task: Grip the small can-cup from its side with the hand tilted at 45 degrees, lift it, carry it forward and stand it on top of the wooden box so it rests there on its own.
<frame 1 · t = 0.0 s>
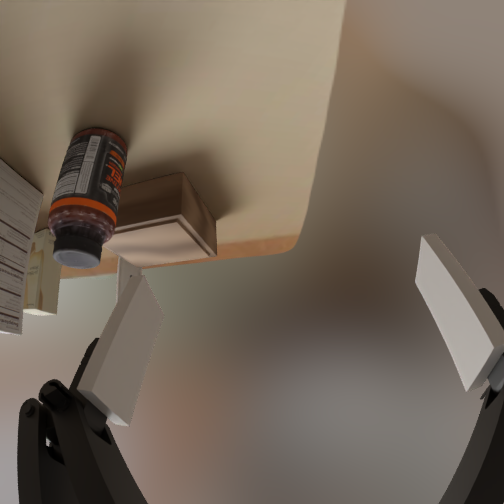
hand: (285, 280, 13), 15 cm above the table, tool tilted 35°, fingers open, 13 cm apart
skincare box: (46, 235, 39), on the table
supplement box: (1, 184, 25), on the table
wooden box: (156, 209, 36), on the table
supplement bottle: (99, 145, 24), on the table
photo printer: (130, 255, 50), on the table
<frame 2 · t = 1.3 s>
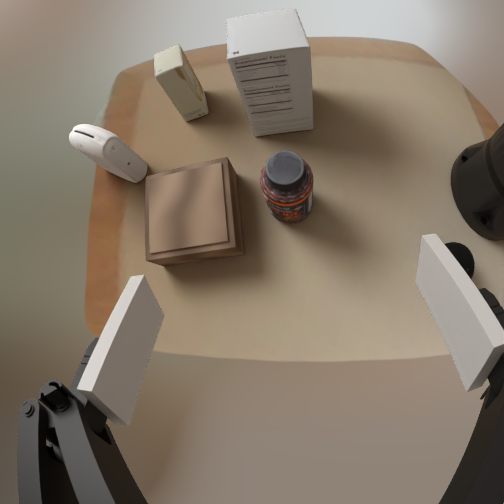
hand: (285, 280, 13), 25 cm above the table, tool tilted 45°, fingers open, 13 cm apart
skincare box: (195, 106, 47), on the table
supplement box: (280, 110, 43), on the table
wooden box: (199, 218, 42), on the table
billiard ball: (443, 269, 35), on the table
supplement bottle: (290, 204, 40), on the table
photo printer: (126, 167, 47), on the table
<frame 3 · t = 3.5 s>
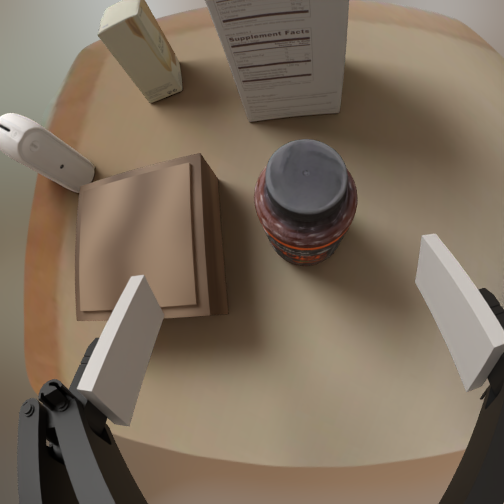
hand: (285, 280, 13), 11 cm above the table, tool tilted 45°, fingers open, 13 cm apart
skincare box: (165, 81, 31), on the table
supplement box: (288, 85, 28), on the table
wooden box: (159, 251, 26), on the table
supplement bottle: (305, 232, 25), on the table
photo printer: (71, 170, 31), on the table
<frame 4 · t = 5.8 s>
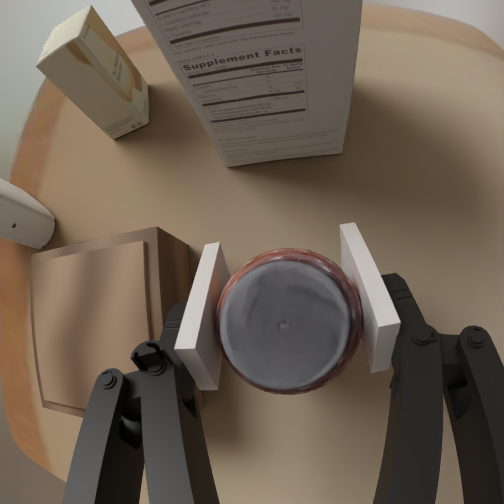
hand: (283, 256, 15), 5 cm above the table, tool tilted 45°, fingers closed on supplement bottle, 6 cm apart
skincare box: (131, 111, 26), on the table
supplement box: (277, 115, 23), on the table
wooden box: (124, 330, 21), on the table
supplement bottle: (294, 317, 20), on the table, touching gripper
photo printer: (33, 218, 26), on the table
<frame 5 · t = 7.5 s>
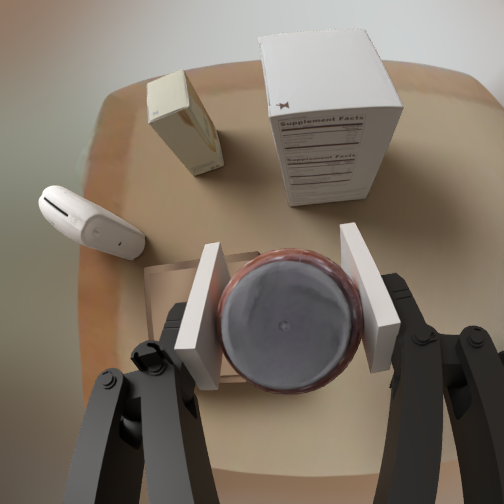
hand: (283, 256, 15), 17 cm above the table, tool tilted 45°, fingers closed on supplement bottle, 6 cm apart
skincare box: (205, 152, 37), on the table
supplement box: (322, 167, 34), on the table
wooden box: (217, 320, 32), on the table
supplement bottle: (295, 317, 20), point 12 cm above the table, touching gripper
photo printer: (118, 234, 37), on the table
when the fingers open (12 cm above the table, at t = 9.4 s): supplement bottle drops 1 cm, resting on wooden box.
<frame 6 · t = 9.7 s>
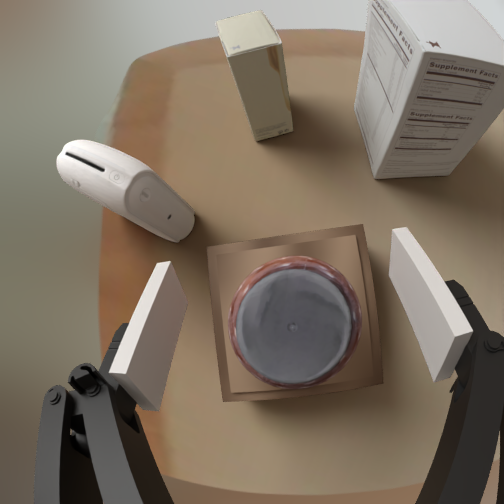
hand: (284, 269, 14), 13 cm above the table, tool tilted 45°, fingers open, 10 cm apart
skincare box: (267, 116, 30), on the table
supplement box: (401, 140, 27), on the table
wooden box: (296, 315, 26), on the table
supplement bottle: (297, 317, 21), point 5 cm above the table, touching wooden box
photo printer: (155, 211, 30), on the table
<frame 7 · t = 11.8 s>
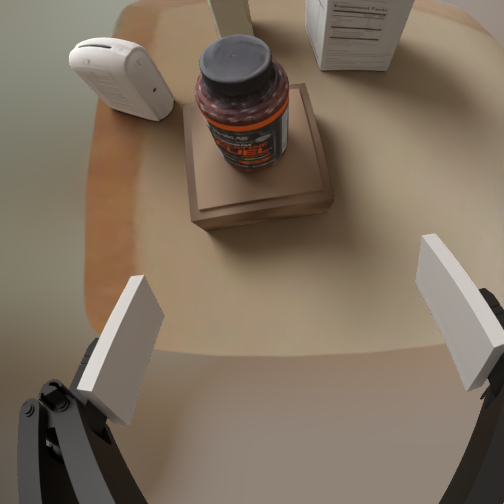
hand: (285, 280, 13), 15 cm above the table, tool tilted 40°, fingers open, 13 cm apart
skincare box: (234, 34, 32), on the table
supplement box: (344, 47, 31), on the table
wooden box: (257, 165, 30), on the table
supplement bottle: (254, 143, 25), point 5 cm above the table, touching wooden box
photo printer: (141, 104, 33), on the table
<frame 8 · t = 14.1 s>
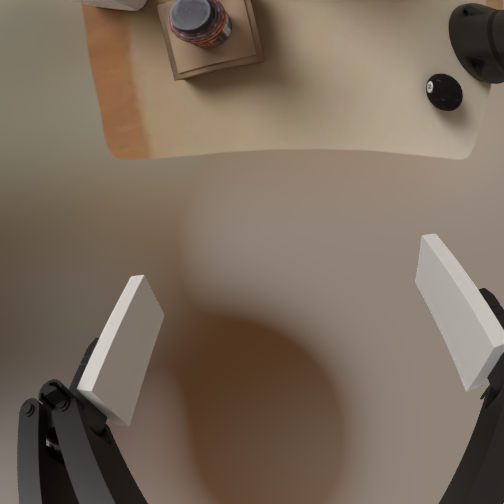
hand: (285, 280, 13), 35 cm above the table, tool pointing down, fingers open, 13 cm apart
wooden box: (214, 33, 34), on the table
billiard ball: (434, 90, 36), on the table
supplement bottle: (210, 28, 30), point 5 cm above the table, touching wooden box
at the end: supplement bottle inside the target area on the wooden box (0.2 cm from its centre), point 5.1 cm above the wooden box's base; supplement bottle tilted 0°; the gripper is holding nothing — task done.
